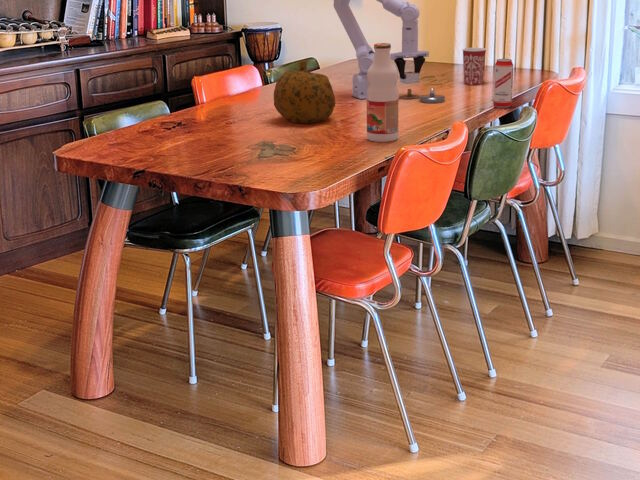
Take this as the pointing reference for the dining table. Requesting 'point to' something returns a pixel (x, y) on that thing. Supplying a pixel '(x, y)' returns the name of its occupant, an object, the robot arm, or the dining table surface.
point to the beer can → (503, 83)
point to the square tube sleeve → (410, 78)
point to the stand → (409, 95)
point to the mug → (473, 65)
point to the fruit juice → (382, 96)
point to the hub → (432, 97)
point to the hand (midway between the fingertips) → (409, 78)
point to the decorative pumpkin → (304, 96)
